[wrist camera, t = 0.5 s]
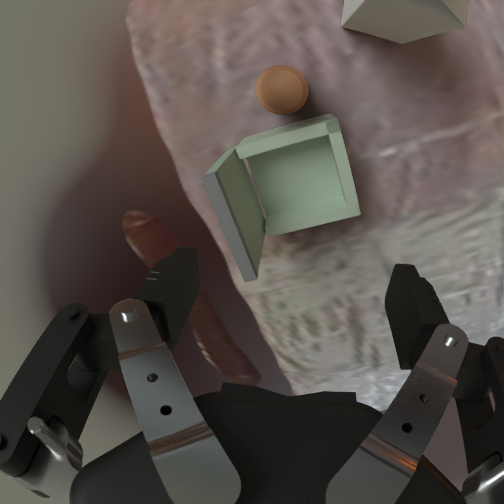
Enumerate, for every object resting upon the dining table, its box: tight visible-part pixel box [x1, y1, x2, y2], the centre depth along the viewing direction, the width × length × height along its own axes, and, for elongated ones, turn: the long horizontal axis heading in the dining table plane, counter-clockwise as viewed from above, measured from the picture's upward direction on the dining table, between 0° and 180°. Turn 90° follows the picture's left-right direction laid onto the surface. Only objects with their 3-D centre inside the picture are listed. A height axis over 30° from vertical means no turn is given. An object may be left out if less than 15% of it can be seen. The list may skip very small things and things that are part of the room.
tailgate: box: [201, 145, 266, 282], centre depth 29 cm, size 1×10×11 cm, turn 19°
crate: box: [235, 114, 361, 237], centre depth 32 cm, size 10×10×6 cm
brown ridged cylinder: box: [256, 65, 309, 115], centre depth 27 cm, size 5×5×8 cm
